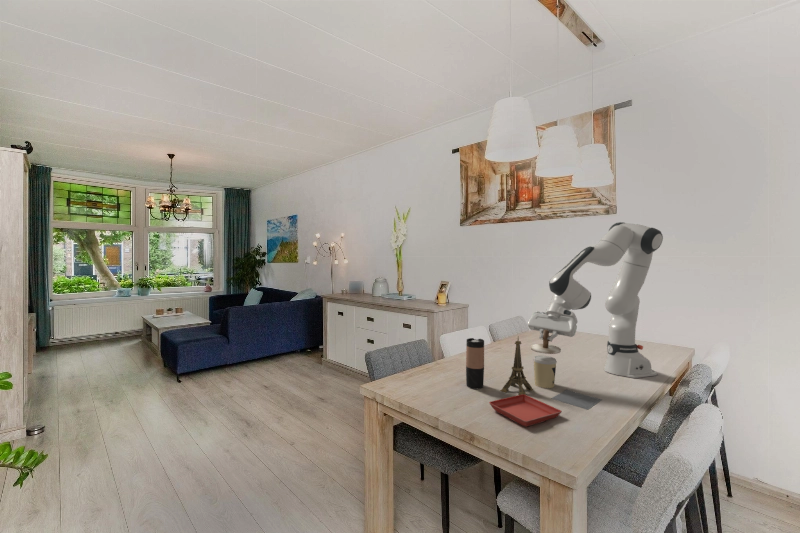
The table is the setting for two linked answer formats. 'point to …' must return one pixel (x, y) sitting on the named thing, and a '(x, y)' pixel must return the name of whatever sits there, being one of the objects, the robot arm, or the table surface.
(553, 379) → the coffee cup
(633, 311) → the robot arm
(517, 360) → the eiffel tower
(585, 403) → the mat
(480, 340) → the travel mug
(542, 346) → the lid
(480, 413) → the table surface
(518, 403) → the plant saucer
